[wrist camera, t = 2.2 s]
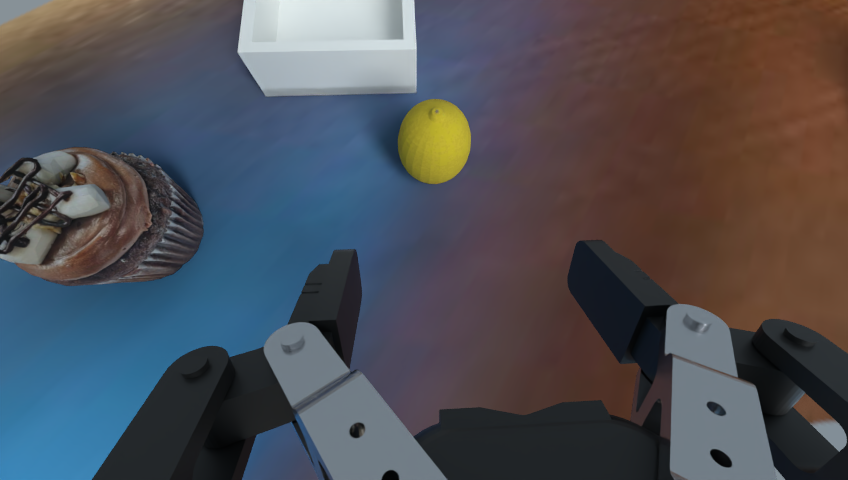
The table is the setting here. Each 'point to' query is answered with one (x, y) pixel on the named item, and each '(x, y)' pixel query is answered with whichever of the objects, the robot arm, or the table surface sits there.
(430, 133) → the lemon
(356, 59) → the white bin
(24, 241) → the cupcake
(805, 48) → the table surface
